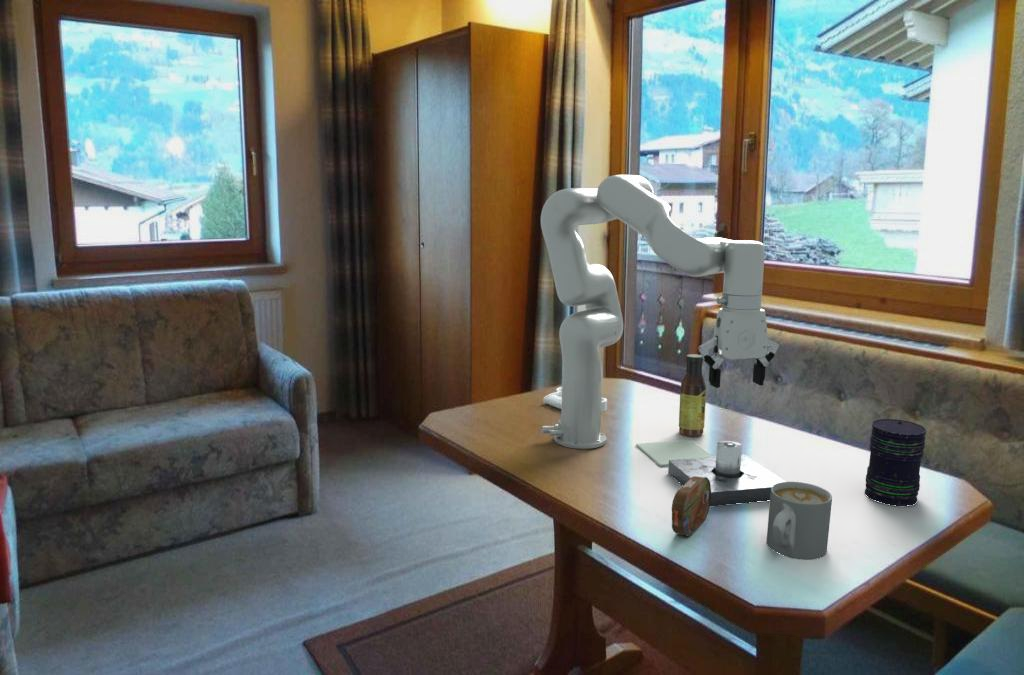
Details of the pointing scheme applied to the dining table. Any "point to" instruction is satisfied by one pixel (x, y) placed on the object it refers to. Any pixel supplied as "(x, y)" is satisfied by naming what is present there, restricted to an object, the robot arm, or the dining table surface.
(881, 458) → the storage jar
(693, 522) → the tin
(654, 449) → the sage mat
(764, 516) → the dining table surface
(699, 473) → the plate
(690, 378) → the sauce bottle
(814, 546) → the coffee mug
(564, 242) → the robot arm
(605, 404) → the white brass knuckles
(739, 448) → the aluminium plug
